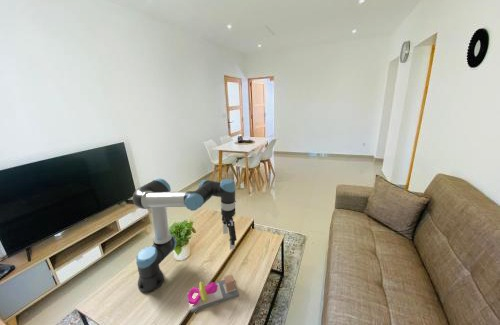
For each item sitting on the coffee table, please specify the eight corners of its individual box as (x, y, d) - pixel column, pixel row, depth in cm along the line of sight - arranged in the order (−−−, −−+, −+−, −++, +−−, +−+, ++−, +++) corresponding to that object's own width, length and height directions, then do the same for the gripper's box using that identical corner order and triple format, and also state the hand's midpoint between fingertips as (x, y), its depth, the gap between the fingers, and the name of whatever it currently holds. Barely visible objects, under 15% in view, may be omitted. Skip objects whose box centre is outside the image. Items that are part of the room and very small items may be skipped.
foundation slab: (190, 313, 117) (189, 311, 117) (187, 293, 128) (187, 291, 128) (238, 296, 127) (238, 294, 127) (232, 278, 139) (232, 277, 138)
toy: (189, 291, 129) (183, 287, 121) (218, 279, 131) (213, 274, 124) (192, 309, 122) (185, 306, 114) (222, 296, 124) (217, 292, 117)
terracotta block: (226, 292, 128) (226, 283, 126) (224, 285, 132) (224, 276, 130) (234, 289, 130) (234, 280, 127) (232, 282, 134) (232, 274, 132)
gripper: (242, 219, 103) (242, 254, 110) (228, 195, 125) (228, 226, 132) (228, 222, 100) (228, 257, 107) (215, 198, 122) (216, 228, 129)
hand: (228, 240), depth 119 cm, fingers open, 13 cm apart
